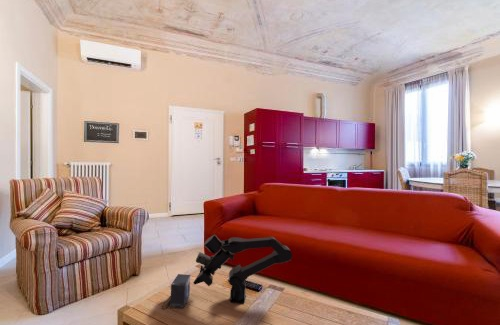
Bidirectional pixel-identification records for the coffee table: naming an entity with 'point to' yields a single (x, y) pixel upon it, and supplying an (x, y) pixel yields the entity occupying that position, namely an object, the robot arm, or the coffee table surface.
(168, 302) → the stop rail
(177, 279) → the small box
